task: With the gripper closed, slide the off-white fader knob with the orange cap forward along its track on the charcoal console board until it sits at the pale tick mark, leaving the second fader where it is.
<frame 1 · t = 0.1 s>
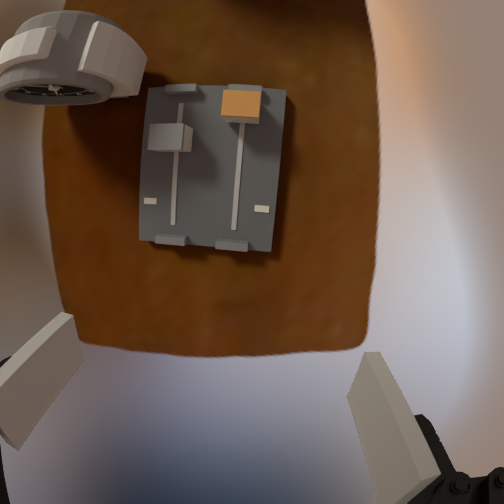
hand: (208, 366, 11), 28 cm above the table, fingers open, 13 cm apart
fader 1: (242, 107, 29), point 5 cm above the table, slide at 0.0 cm
console: (209, 164, 35), on the table
alarm clock: (104, 83, 32), on the table
fader 2: (171, 138, 30), point 5 cm above the table, slide at 4.0 cm
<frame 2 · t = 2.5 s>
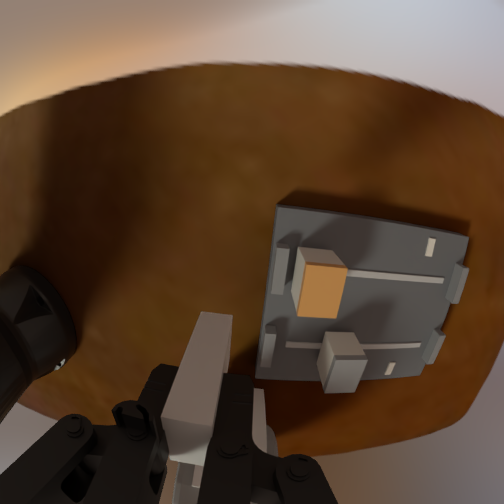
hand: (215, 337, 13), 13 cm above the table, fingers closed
fader 1: (316, 281, 22), point 5 cm above the table, slide at 0.0 cm
console: (364, 303, 27), on the table
alarm clock: (229, 412, 33), on the table
fader 2: (340, 362, 24), point 5 cm above the table, slide at 4.0 cm
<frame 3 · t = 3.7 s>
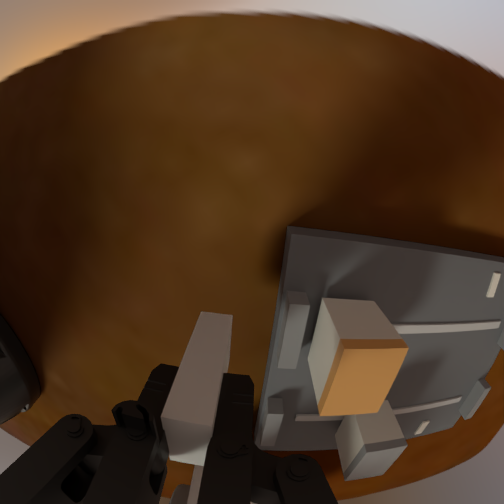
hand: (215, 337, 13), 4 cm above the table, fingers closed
fader 1: (350, 355, 12), point 5 cm above the table, slide at 0.0 cm
console: (402, 358, 18), on the table
alarm clock: (223, 470, 24), on the table
fader 2: (367, 441, 15), point 5 cm above the table, slide at 4.0 cm
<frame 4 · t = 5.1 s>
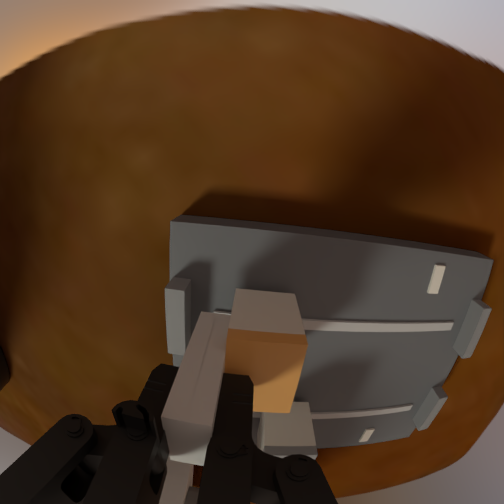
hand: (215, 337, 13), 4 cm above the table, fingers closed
fader 1: (261, 349, 13), point 5 cm above the table, slide at 1.6 cm, touching gripper
console: (330, 358, 18), on the table
alarm clock: (169, 460, 24), on the table
fader 2: (283, 443, 15), point 5 cm above the table, slide at 4.0 cm
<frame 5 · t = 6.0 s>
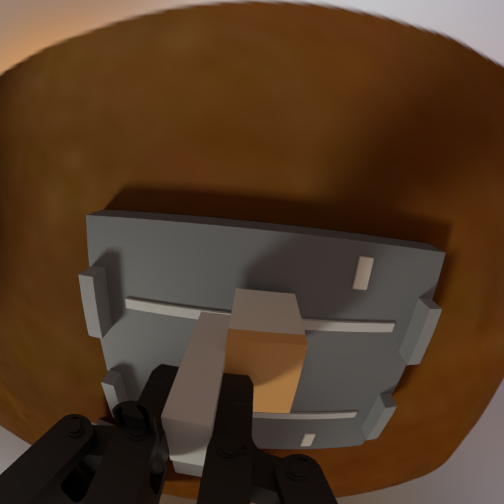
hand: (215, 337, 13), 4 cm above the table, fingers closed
fader 1: (261, 349, 13), point 5 cm above the table, slide at 6.9 cm, touching gripper
console: (256, 354, 18), on the table
fader 2: (201, 436, 15), point 5 cm above the table, slide at 4.0 cm
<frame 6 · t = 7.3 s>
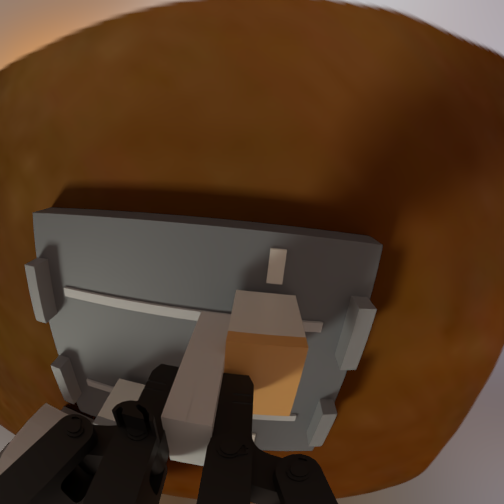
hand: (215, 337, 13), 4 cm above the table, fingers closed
fader 1: (261, 351, 12), point 5 cm above the table, slide at 11.6 cm, touching gripper
console: (187, 347, 18), on the table
alarm clock: (92, 437, 24), on the table
fader 2: (132, 423, 15), point 5 cm above the table, slide at 4.0 cm
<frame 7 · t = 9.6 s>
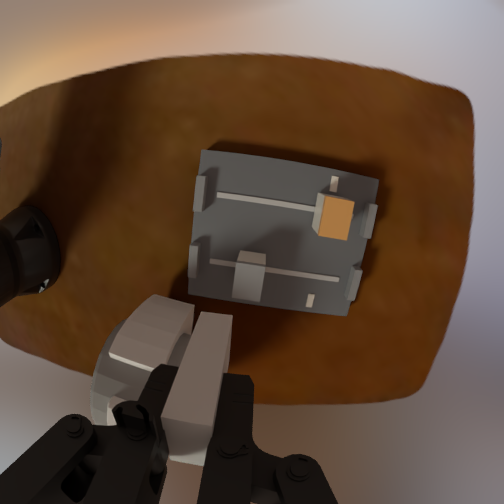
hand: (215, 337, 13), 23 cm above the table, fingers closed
fader 1: (331, 215, 29), point 5 cm above the table, slide at 11.7 cm
console: (280, 234, 35), on the table
alarm clock: (173, 337, 40), on the table
fader 2: (249, 274, 31), point 5 cm above the table, slide at 4.0 cm
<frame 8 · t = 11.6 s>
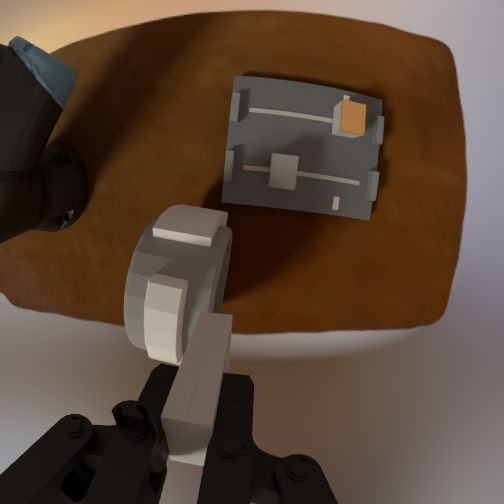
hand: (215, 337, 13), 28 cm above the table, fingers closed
fader 1: (348, 119, 31), point 5 cm above the table, slide at 11.7 cm
console: (304, 146, 37), on the table
alarm clock: (202, 258, 42), on the table
fader 2: (282, 171, 33), point 5 cm above the table, slide at 4.0 cm
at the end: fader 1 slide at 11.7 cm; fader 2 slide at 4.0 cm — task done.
